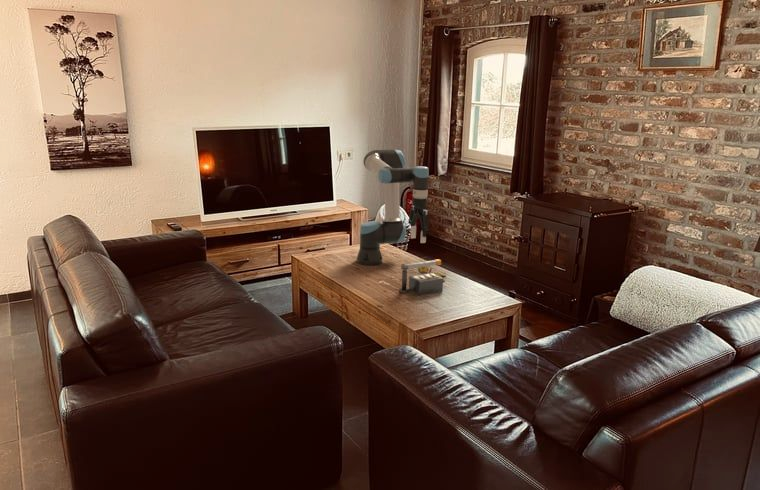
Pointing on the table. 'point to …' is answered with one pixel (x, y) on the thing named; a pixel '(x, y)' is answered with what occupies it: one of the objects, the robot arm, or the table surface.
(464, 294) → the table surface
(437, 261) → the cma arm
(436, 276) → the block
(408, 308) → the table surface
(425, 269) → the figurine
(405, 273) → the post
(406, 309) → the table surface
